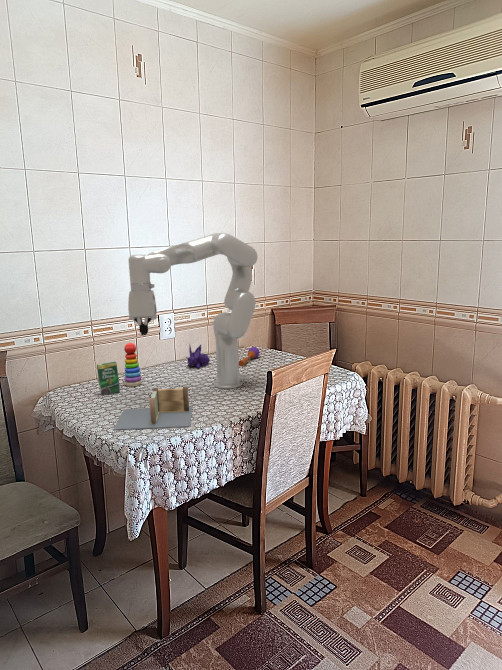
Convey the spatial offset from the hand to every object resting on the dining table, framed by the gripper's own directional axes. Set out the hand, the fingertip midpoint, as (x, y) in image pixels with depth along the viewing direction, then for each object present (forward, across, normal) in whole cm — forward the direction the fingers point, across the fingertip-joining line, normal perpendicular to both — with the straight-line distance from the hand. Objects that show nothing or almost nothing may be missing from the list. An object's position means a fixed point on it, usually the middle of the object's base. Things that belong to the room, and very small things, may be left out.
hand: (144, 334), depth 193 cm
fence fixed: (+27, -12, +13) cm, 32 cm away
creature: (+28, -14, -48) cm, 57 cm away
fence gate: (+26, -7, +20) cm, 34 cm away
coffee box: (+27, +19, -10) cm, 34 cm away
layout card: (+27, -6, +19) cm, 34 cm away
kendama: (+28, -39, -55) cm, 73 cm away
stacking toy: (+27, +12, -21) cm, 36 cm away
